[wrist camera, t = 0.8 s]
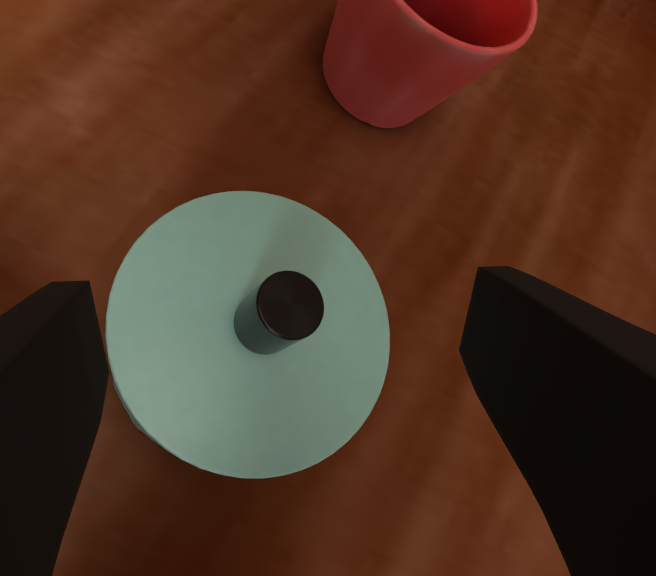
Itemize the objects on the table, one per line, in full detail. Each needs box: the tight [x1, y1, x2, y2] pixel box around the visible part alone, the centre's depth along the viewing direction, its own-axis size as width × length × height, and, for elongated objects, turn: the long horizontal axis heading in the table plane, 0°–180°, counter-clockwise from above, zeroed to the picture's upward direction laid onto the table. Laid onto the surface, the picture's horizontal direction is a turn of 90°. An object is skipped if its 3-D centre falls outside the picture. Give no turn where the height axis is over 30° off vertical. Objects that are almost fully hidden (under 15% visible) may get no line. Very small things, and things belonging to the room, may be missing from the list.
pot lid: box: [106, 191, 390, 479], centre depth 19 cm, size 11×11×4 cm
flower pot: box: [323, 0, 538, 128], centre depth 31 cm, size 11×11×10 cm
